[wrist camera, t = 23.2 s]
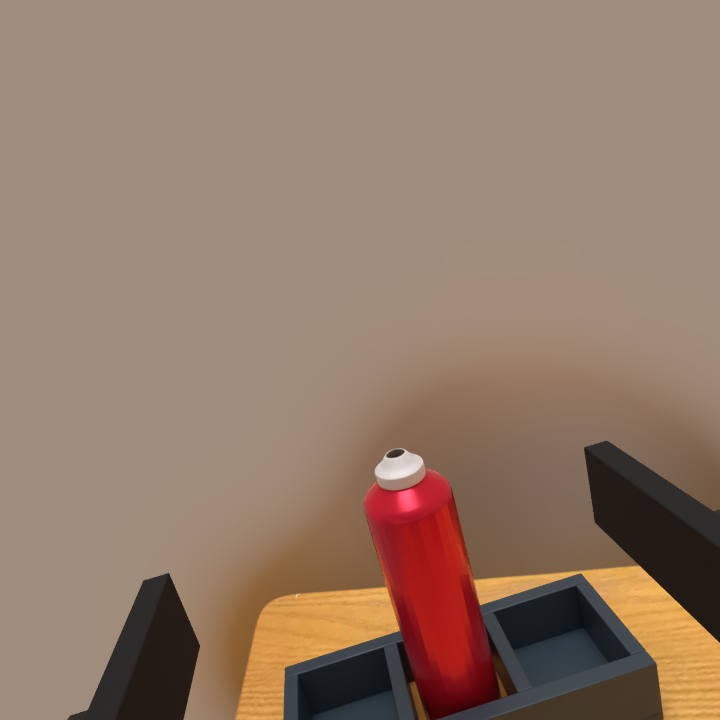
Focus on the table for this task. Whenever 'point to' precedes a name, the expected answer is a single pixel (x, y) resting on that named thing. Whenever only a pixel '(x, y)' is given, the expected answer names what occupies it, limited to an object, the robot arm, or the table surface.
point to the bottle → (430, 585)
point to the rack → (499, 667)
